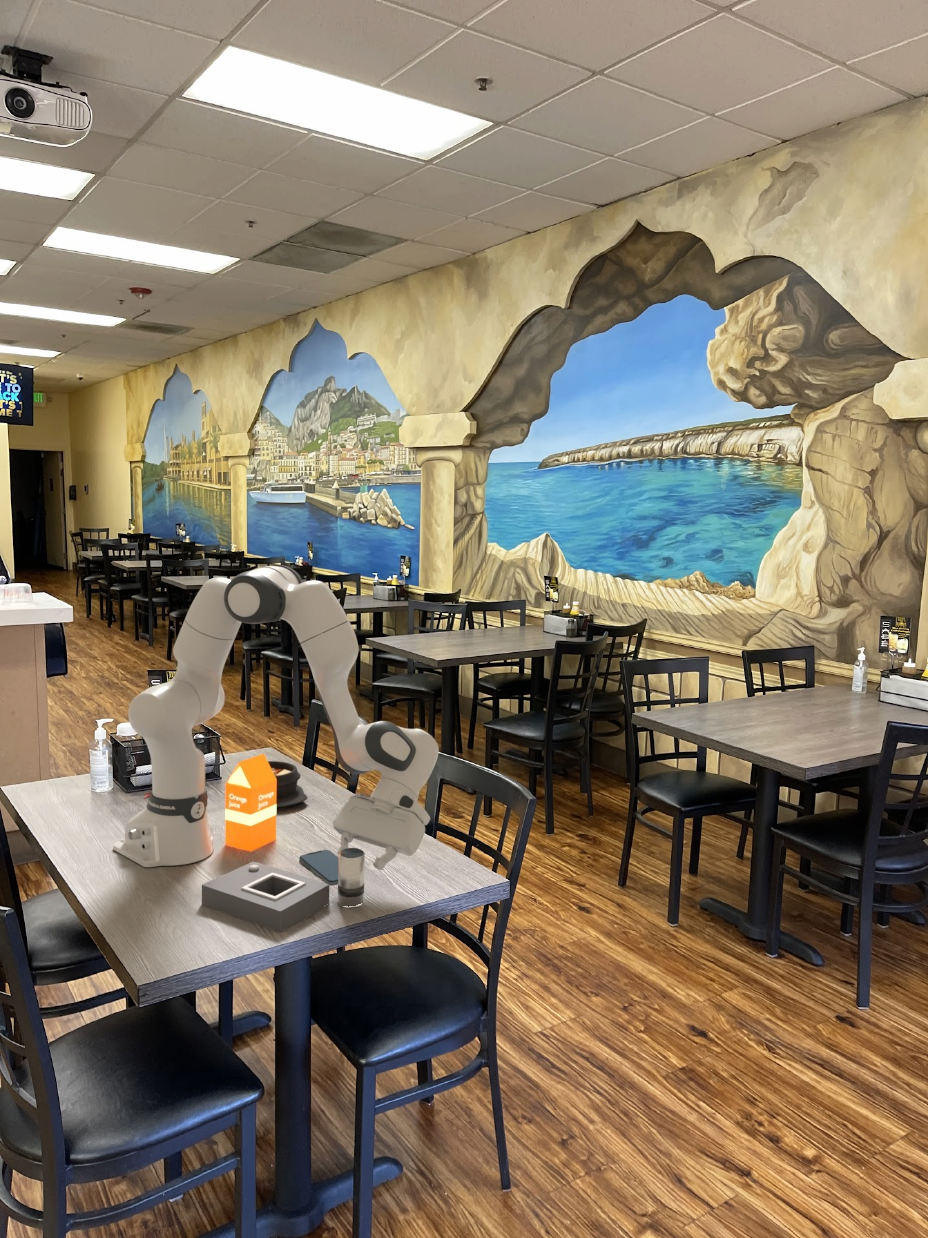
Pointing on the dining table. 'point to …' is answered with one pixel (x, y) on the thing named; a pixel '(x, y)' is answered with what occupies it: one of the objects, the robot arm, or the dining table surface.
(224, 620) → the robot arm
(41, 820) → the dining table surface
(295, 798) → the casserole
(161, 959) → the dining table surface
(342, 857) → the lens
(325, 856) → the smartphone
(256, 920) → the grey socket base
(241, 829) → the orange juice
